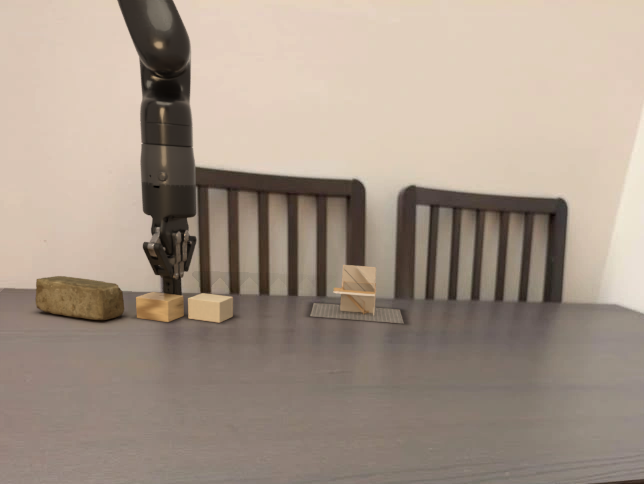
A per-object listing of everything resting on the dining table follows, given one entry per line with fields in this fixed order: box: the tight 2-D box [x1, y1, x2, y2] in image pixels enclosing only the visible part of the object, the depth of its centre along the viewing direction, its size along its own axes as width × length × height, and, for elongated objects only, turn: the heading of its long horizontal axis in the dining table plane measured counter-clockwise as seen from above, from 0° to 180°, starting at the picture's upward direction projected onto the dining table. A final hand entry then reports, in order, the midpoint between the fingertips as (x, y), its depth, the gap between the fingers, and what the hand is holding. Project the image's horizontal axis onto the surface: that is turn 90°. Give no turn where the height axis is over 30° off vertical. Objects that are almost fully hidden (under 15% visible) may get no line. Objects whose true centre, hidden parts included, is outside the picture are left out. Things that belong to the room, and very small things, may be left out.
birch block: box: [135, 291, 185, 323], centre depth 107 cm, size 5×5×3 cm
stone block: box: [35, 275, 125, 321], centre depth 103 cm, size 6×12×5 cm, turn 74°
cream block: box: [187, 292, 234, 324], centre depth 109 cm, size 5×5×3 cm
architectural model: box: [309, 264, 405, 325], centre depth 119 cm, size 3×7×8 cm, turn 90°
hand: (173, 303), depth 111 cm, fingers closed
